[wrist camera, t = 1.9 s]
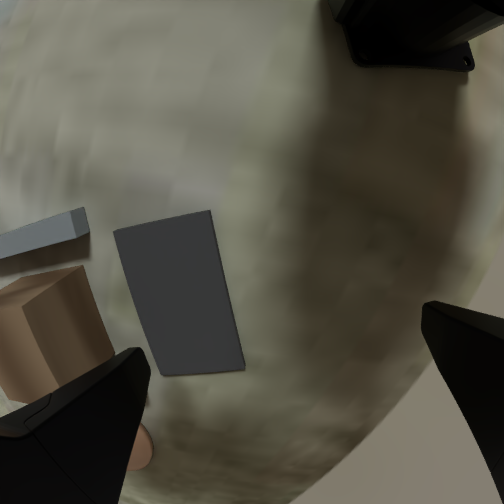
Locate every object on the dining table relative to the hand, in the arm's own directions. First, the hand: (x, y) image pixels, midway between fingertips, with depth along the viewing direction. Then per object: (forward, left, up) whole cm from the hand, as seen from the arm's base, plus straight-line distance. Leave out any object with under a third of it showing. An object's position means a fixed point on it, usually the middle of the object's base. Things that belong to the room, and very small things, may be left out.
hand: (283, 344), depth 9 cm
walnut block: (+12, 0, -5) cm, 13 cm away
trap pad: (+4, 0, -5) cm, 6 cm away
